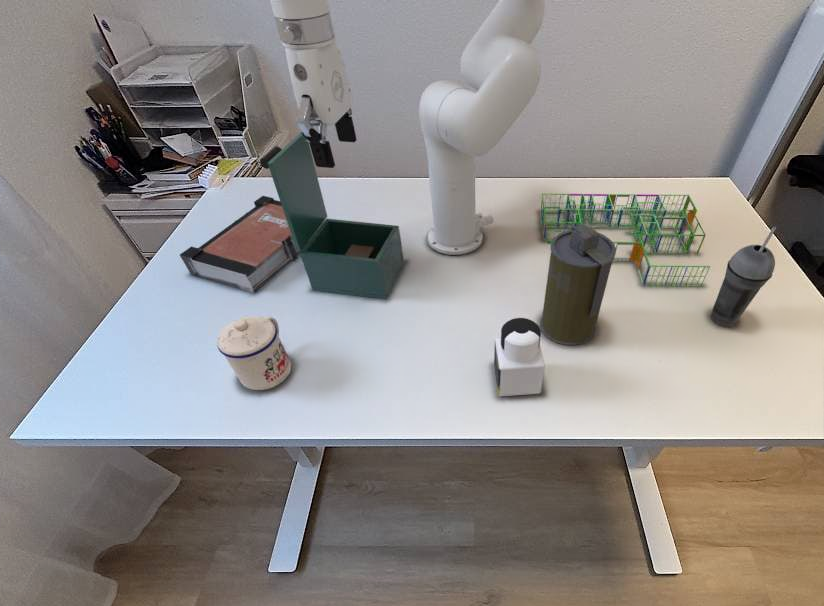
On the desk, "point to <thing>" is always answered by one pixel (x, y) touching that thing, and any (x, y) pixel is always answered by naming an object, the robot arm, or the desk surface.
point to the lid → (297, 188)
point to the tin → (353, 258)
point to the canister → (576, 284)
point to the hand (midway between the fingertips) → (337, 153)
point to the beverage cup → (743, 282)
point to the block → (361, 251)
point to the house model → (638, 247)
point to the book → (246, 249)
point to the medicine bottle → (519, 358)
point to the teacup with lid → (255, 351)
